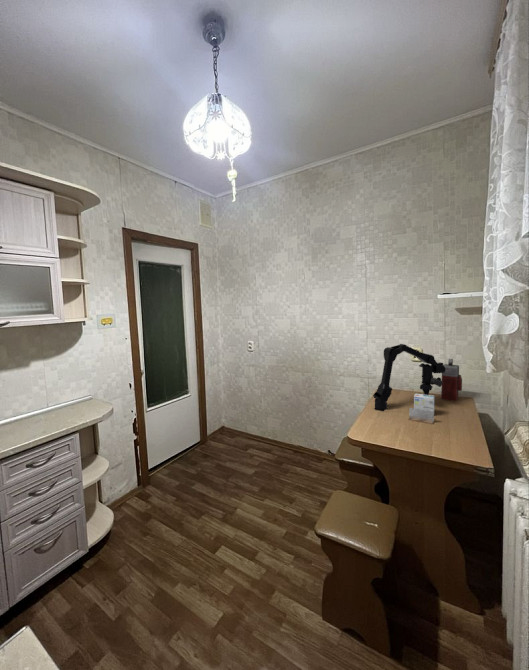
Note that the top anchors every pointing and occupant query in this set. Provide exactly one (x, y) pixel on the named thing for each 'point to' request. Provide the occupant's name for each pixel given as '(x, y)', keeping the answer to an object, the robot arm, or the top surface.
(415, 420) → the shelf plank
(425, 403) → the light bulb box
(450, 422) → the top surface
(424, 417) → the grey thin panel
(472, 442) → the top surface
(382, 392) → the robot arm
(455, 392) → the red thermos jug
